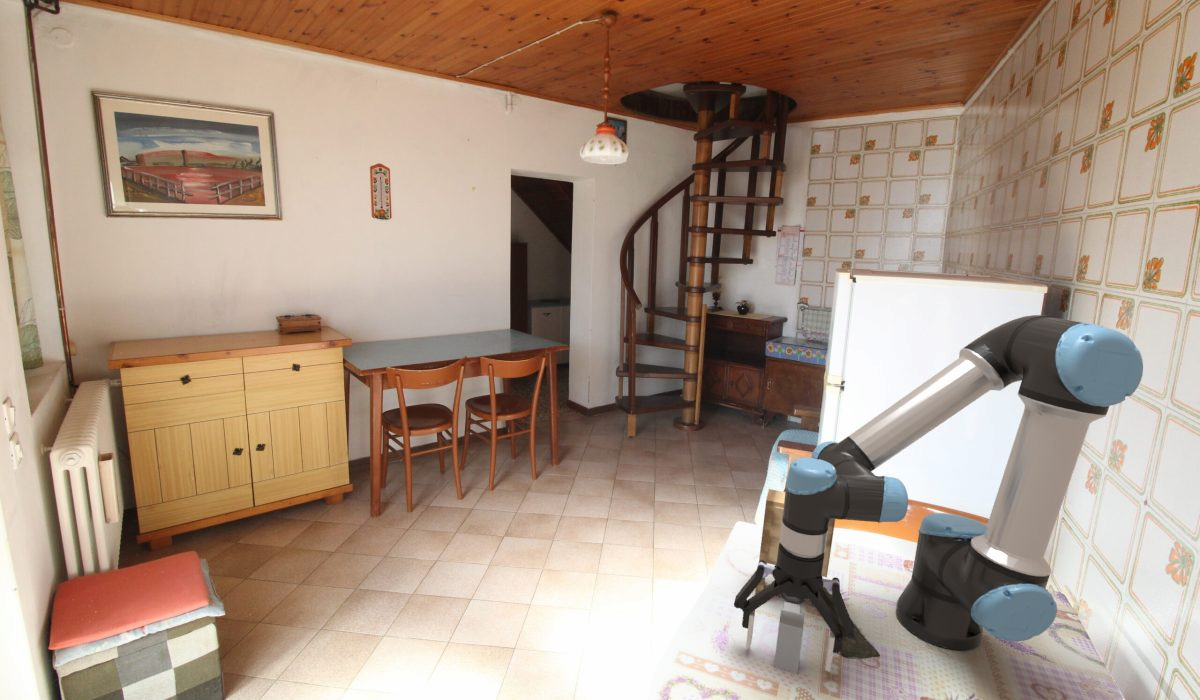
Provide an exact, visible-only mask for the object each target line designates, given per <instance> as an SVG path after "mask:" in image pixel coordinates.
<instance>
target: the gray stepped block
mask: <svg viewBox="0 0 1200 700" xmlns="http://www.w3.org/2000/svg"><path fill="white" fill-rule="evenodd" d="M783 602H784V603H783V608H782V609H780V614H779V624H778V631H777V637H776V638H777V639H776V646H775V656H774V662H773V668H774V669H775V668H776V669H779V670H783V671H786V672H790V673H792V674H796V675H797V674H798V671H799V663H800V658H801V657H800V655H801V649H802V644H803V643H802V641H803V633H804V628H805V627H804V623H805V615H804V614H800V607H801V605H800V604H792V603H789V602H787V601H783Z"/></svg>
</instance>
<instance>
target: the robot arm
mask: <svg viewBox="0 0 1200 700" xmlns="http://www.w3.org/2000/svg"><path fill="white" fill-rule="evenodd" d="M958 354H959V356H958V358H957V359H956V360H954V361H953V362H952V363H950V364H948V365H947V366H946V367H944V368H942V369H941V370H940V371H938V373H935V374H934V375H933V376H931V378H929V379H927V380H926V381H924V382H923V383H922V384H921V385H919V386H918V387H916V388H914V389H913V390H912V391H910V392H909V393H908V394H906V395H904V396H903V397H902V398H900V399H899V400H898V401H897V402H895V403H894V404H892V405H891V406H889V407H887V409H885V410H884V411H882V412H881V413H879V414H878V415H876V416H875V417H873V418H872V419H871V420H870V421H868V422H867V423H865V424H864V425H862V426H861V427H859V428H858V429H857V430H855V431H854V432H852V433H851V434H850V435H848V436H847V437H845V438H844V439H842V440H841V441H839V442H837V441H826V442H821V443H819V444H818V445H817V446H816V447H815V448H814V450H813V451H812V453H811V456H810V457H799V458H796V459H794V460H793V461H792V462H790V465H789V467H788V471H787V475H786V476H787V477H786V481H785V491H784V492H785V500H784V510H783V518H782V523H781V531H780V543H779V547H778V555H777V563H776V565H774V566H772V565H770V564H767V565H766V564H765V561H763V560H760V561H759V560H758V564H757V567H756V569H755V572H754V573H753V574H752V575H751V577H749V579H748V580H747V581H746V583H745V584H744V585H743V587H742V588H741V589H740V591H738V593H737V594H736V595H735V598H734V603H733V607H735V608H736V609H740V610H741V611H742V614H743V615H742V620H741V621H742V623H741V627H742V628H744V629H747V632H746V633H747V635H746V636H747V637H746V644H745V648H746V649H751V645H752V639H753V631H754V624H755V615H756V610H757V609H758V608H760V607H762V606H763V605H764V604H766V603H768V602H769V601H771V600H772V599H773V598H774V597H778V596H780V594H781V593H784V594H786V596H788V597H796V598H798V599H800V600H804V601H805V600H808V601H809V602H810V603H811V605H812V606H813V607H814V608H815V609H816V611H817V612H818V613H819V615H820V617H821V618H822V620H824V622H825V623H826V625H827V626H828V628H829V632H828V639H827V646H826V653H825V662H824V670H825V671H826V672H831V666H832V659H833V655H834V654H838V655H839V654H840V648H841V641H842V640H843V637H848V638H850V639H852V638H854V626H853V623H854V622H853V623H852V621H853V620H852V618H851V616H850V614H849V612H848V611H849V610H848V609H847V606H846V602H845V601H844V598H843V596H842V593H841V585H840V583H841V581H840V579H839V578H838V577H834V576H833V577H832V579H828V578H824V577H823V576H822V568H823V561H824V551H825V547H826V540H827V533H828V527H829V521H830V519H835V520H845V521H860V522H875V523H878V524H880V523H898V522H900V521H902V520H903V519H904V518H905V517H906V515H907V513H908V508H909V495H908V491H907V487H906V486H905V484H904V483H903V482H902V481H901V480H900V479H899V478H896V477H892V476H886V475H879V476H878V475H875V474H874V472H873V471H874V470H875V469H877V468H878V467H879V468H880V466H882V465H883V464H885V463H887V461H889V460H890V459H892V458H893V457H895V456H896V455H898V454H899V453H900V452H902V451H903V450H905V449H907V447H910V446H911V445H912V444H914V443H915V442H916V441H918V440H919V439H921V438H923V437H924V436H926V435H927V434H928V433H930V432H931V431H933V430H934V429H936V428H937V427H939V426H940V425H941V424H943V423H944V422H946V421H947V420H949V419H950V418H952V417H953V416H955V415H956V414H958V413H959V412H961V411H962V410H963V409H965V408H966V407H968V406H969V405H970V404H972V403H973V402H976V401H977V400H978V399H980V398H981V397H982V396H984V395H985V394H987V393H988V392H990V391H996V392H997V391H999V392H1000V391H1003V390H1004V389H1005V388H1006V387H1008V386H1009V385H1011V384H1013V383H1016V382H1020V385H1019V389H1018V391H1017V396H1018V397H1019V399H1020V400H1021V401H1022V403H1023V404H1024V410H1023V413H1022V416H1021V419H1020V422H1019V425H1018V428H1017V432H1016V434H1015V438H1014V441H1013V444H1012V447H1011V451H1010V454H1009V456H1008V460H1007V462H1006V465H1005V469H1004V472H1003V474H1002V479H1001V481H1000V484H999V486H998V491H997V494H996V496H995V499H994V503H993V505H992V509H991V512H990V514H989V518H988V521H987V523H986V524H987V525H986V524H984V523H983V522H981V521H978V520H975V519H973V518H971V517H970V518H969V517H966V516H963V515H958V514H953V513H942V512H938V513H930V514H928V515H926V516H923V518H922V520H921V523H920V526H919V529H918V536H917V537H918V538H917V544H916V549H915V553H914V554H915V556H914V561H913V568H912V572H911V573H912V575H911V579H910V580H909V582H908V583H907V585H906V586H905V588H904V589H903V591H902V593H901V594H900V595H899V597H898V599H897V601H896V608H895V615H896V618H897V620H898V621H899V622H900V624H901V625H902V626H903V627H904V628H905V629H906V630H907V631H909V632H910V633H912V634H913V635H914V636H915V637H918V638H919V639H921V640H924V641H925V642H927V643H930V644H932V645H935V646H938V647H941V648H945V649H949V650H956V651H968V650H972V649H975V648H977V647H979V646H980V644H981V642H982V638H983V633H984V632H983V630H985V631H986V632H987V633H988V634H990V635H991V636H993V637H995V638H997V639H999V640H1003V641H1008V642H1024V641H1027V640H1030V639H1032V638H1034V637H1036V636H1040V635H1041V634H1044V633H1045V632H1046V631H1047V630H1048V629H1049V628H1050V627H1051V626H1052V624H1054V621H1055V620H1056V617H1057V614H1058V605H1057V602H1056V601H1055V599H1054V597H1053V594H1052V593H1051V592H1050V591H1048V589H1047V586H1048V585H1047V584H1048V582H1049V580H1050V579H1049V578H1050V576H1051V573H1052V568H1051V566H1050V564H1049V563H1048V561H1047V560H1046V558H1045V554H1046V551H1047V548H1048V546H1049V543H1050V540H1051V537H1052V534H1053V530H1055V529H1054V528H1055V526H1056V522H1057V520H1058V517H1059V514H1060V511H1061V508H1062V505H1063V502H1064V499H1065V496H1066V493H1067V490H1068V487H1069V484H1070V482H1071V479H1072V476H1073V473H1074V470H1075V467H1076V464H1077V462H1078V459H1079V456H1080V453H1081V450H1082V448H1083V445H1084V441H1085V439H1086V436H1087V433H1088V430H1089V427H1090V425H1091V423H1093V422H1095V421H1097V420H1100V419H1103V418H1106V416H1107V414H1108V411H1109V408H1110V406H1116V405H1118V404H1121V403H1122V402H1124V401H1125V400H1126V397H1131V396H1132V395H1133V394H1134V393H1135V391H1136V390H1137V389H1138V388H1139V385H1140V383H1141V381H1142V378H1143V373H1144V360H1143V356H1142V355H1141V351H1140V350H1139V348H1138V347H1137V346H1136V345H1135V343H1134V341H1133V340H1132V339H1131V338H1130V337H1129V336H1128V335H1126V334H1124V333H1123V332H1121V331H1118V330H1117V329H1112V328H1108V327H1106V326H1103V325H1099V324H1096V323H1088V322H1082V321H1076V320H1070V319H1069V320H1068V319H1064V318H1057V317H1054V316H1050V315H1043V314H1041V315H1040V314H1036V315H1035V314H1033V315H1025V316H1022V317H1019V318H1015V319H1012V320H1010V321H1007V322H1004V323H1002V324H1000V325H998V326H995V327H994V328H992V329H991V330H989V331H987V332H984V333H983V334H981V335H980V336H979V337H977V338H975V339H974V340H973V341H971V342H970V343H968V344H967V345H965V346H964V347H963V348H962V349H961V348H960V350H959V353H958ZM769 575H772V578H773V579H774V580H773V581H771V583H770V584H768V585H767V586H766V587H764V589H763V590H761V591H760V592H758V593H757V594H756V595H755V594H754V595H753V596H751V594H752V593H753V592H754V590H756V587H757V586H758V584H759V583H760V582H761V580H762V577H763V578H765V579H766V578H767V577H768V576H769ZM822 587H825V588H826V589H827V591H828V593H829V594H832V597H833V601H834V604H835V606H836V609H837V611H838V614H839V617H840V619H841V622H842V624H843V626H841V624H840V623H839V621H838V620H837V619H836V617H835V616H834V614H833V613H832V611H831V610H830V608H829V607H828V606H827V604H826V603H825V601H824V600H823V598H822V597H821V595H820V592H819V590H820V589H822ZM750 596H751V597H750ZM851 620H852V621H851Z"/></svg>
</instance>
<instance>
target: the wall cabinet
mask: <svg viewBox="0 0 1200 700" xmlns="http://www.w3.org/2000/svg"><path fill="white" fill-rule="evenodd" d="M767 491H768V492H767V496H766V500H765V508H764V516H763V523H762V531H761V543H760V550H759V557H758V558H759V560H758V562H759V561H760V560H763V561H765V564H766V565H771V566H772V565H774V566H775V565H776V563H777V555H778V547H779V543H780V531H781V523H782V518H783V510H784V500H785V491H782V490H777V489H770V488H768V490H767ZM835 523H836V519H830V521H829V527H828V533H827V540H826V547H825V551H824V561H823V568H822V578H828V571H829V565H830V559H831V558H830V557H831V553H832V552H831V550H832V544H833V537H834V531H835ZM765 583H766V577H765V578H763V577H762V580H761V582H760V583H759V584H758V586H757V587H756V588H755V593H754V595H756V594H757V593H758V592H760V591H761V590H763V589H764V588H765Z"/></svg>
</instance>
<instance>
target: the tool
mask: <svg viewBox="0 0 1200 700" xmlns="http://www.w3.org/2000/svg"><path fill="white" fill-rule="evenodd" d="M819 592H820V595H821V597H822V598H823V600H824V601H825V603H826V604H827V606H828V607H829V608H830V610H831V611H832V613H833V614H834V616H835V617H836V619H837V620H838V621H839V623H840V624H841V626H843V624H842V622H841V619H840V617H839V614H838V611H837V609H836V606H835V604H834V601H833V597H832V594H829V593H828V591H827V589H826V588H825V587H822V589H820V590H819ZM851 621H852V623H853V626H854V638H852V639H850V638H848V637H843V640H842V641H841V648H840V652H839V654H840V655H842V656H844V657H845V658H846V659H853V660H854V659H860V660H865V659H866V660H867V659H871V658H880V656H881V654H880V653H879V651H878V650H877V649H876V648H875V647H874V646H873V644H872V643H871V642H870V641H869V640H868V639H867V638H866V637H865V635H863V633H862V632H861V630H860V628H858V626H857V625H856V624H855V623H854V621H853V620H852V619H851Z"/></svg>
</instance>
